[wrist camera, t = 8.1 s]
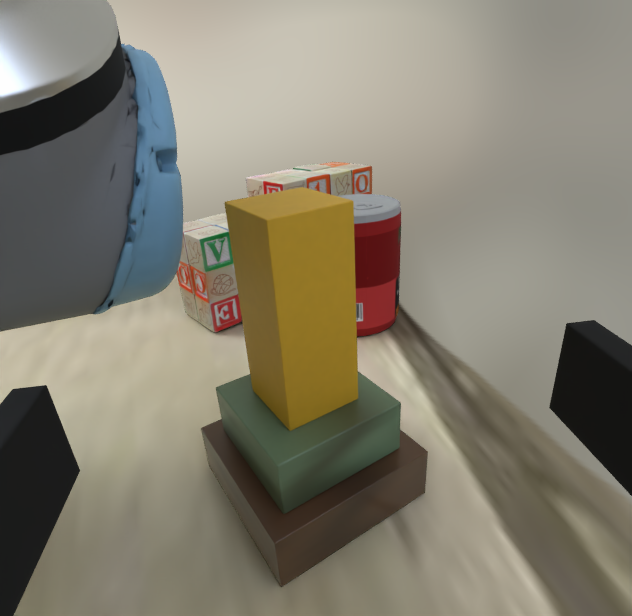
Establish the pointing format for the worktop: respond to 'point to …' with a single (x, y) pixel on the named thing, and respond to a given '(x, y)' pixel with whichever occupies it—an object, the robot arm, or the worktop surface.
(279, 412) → the bar
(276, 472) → the green brown stepped block
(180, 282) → the stack of blocks
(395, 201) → the canned food
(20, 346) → the worktop surface
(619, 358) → the robot arm
